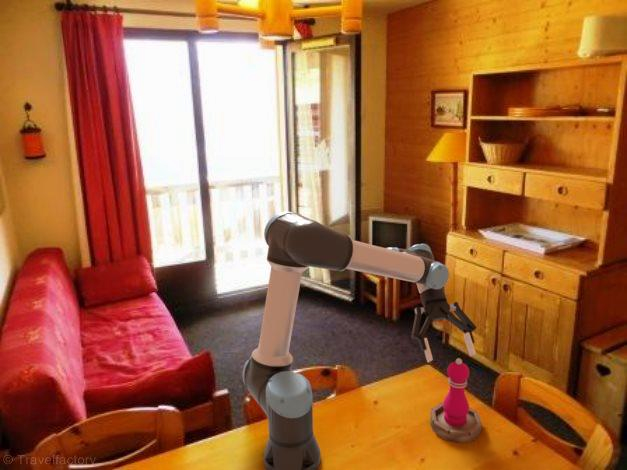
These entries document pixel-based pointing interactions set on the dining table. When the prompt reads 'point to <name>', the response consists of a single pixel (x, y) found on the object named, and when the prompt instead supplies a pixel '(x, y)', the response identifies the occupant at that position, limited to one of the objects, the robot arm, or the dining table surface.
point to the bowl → (451, 432)
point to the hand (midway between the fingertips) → (451, 358)
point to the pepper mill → (456, 394)
